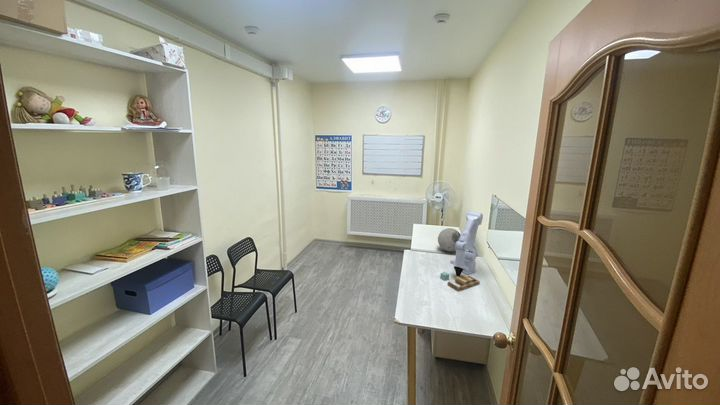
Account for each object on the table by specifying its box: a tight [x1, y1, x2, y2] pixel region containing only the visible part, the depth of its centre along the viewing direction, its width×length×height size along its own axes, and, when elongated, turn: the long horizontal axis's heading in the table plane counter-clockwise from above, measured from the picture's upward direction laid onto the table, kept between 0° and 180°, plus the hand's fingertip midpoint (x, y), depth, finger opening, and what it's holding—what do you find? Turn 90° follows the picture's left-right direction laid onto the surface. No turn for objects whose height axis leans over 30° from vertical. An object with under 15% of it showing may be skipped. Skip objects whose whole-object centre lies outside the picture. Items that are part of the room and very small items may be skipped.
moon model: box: [437, 227, 461, 253], centre depth 234 cm, size 20×20×20 cm
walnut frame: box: [447, 275, 481, 292], centre depth 179 cm, size 20×9×2 cm, turn 119°
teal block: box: [440, 271, 450, 282], centre depth 186 cm, size 4×4×4 cm
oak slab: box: [454, 273, 473, 284], centre depth 183 cm, size 8×8×3 cm
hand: (458, 276), depth 188 cm, fingers closed
